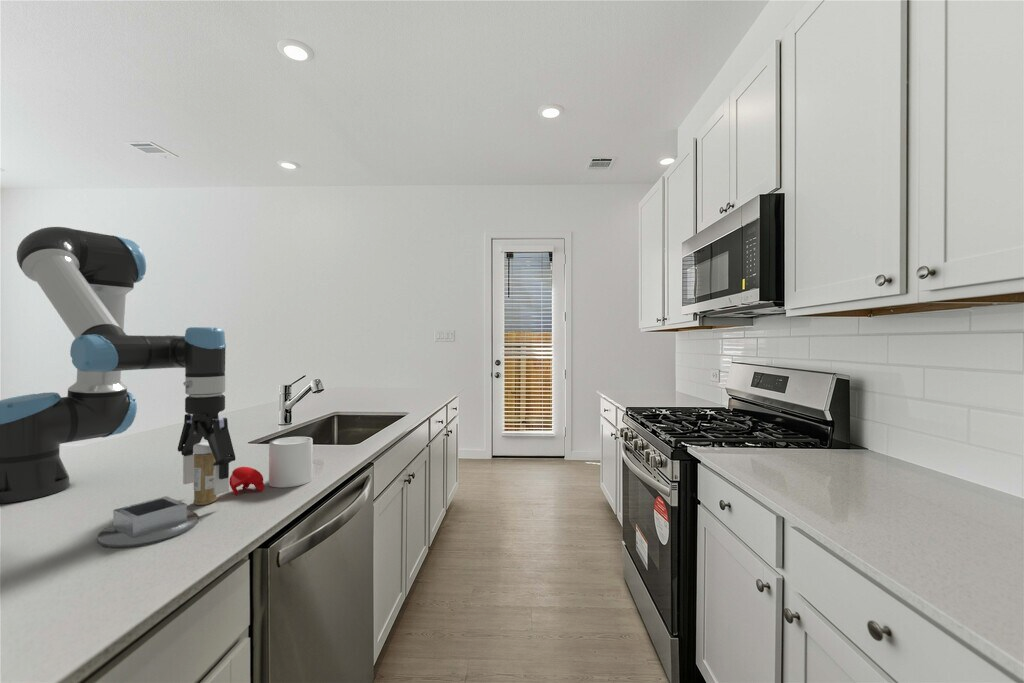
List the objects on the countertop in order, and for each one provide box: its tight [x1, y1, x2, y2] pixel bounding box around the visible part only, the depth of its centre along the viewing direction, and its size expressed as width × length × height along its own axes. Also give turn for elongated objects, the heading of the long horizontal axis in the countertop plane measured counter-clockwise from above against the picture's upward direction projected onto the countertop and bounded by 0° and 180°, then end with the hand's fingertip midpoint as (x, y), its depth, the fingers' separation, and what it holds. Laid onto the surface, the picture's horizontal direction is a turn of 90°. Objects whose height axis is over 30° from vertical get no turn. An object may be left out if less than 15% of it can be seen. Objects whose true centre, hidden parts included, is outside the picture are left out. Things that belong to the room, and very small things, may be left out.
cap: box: [229, 466, 265, 496], centre depth 108 cm, size 8×6×6 cm
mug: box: [268, 436, 314, 488], centre depth 117 cm, size 14×10×11 cm
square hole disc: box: [97, 495, 199, 549], centre depth 86 cm, size 15×15×4 cm
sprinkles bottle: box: [193, 441, 218, 506], centre depth 101 cm, size 5×5×14 cm
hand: (205, 487), depth 101 cm, fingers open, 13 cm apart
